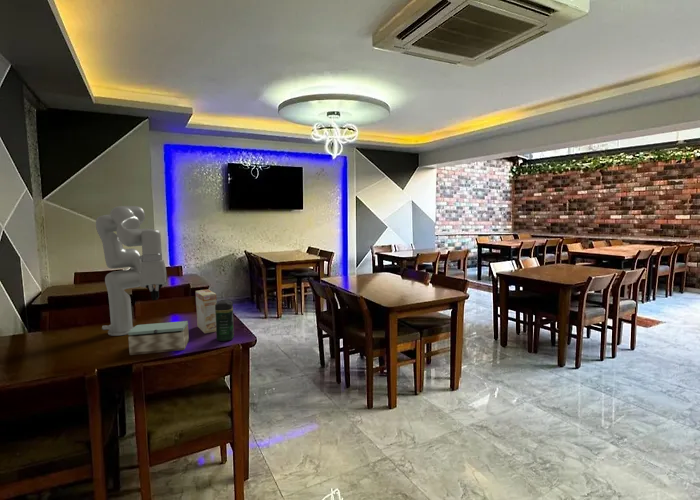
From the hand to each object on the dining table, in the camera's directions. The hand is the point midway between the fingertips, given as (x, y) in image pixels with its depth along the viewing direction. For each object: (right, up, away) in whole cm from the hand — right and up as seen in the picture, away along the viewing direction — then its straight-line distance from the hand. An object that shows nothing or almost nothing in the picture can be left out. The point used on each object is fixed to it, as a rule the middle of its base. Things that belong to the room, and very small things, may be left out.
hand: (155, 299), depth 174 cm
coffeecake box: (+11, -20, +33) cm, 40 cm away
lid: (-1, -14, +5) cm, 15 cm away
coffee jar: (+26, -21, +17) cm, 37 cm away
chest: (-1, -22, +6) cm, 23 cm away
